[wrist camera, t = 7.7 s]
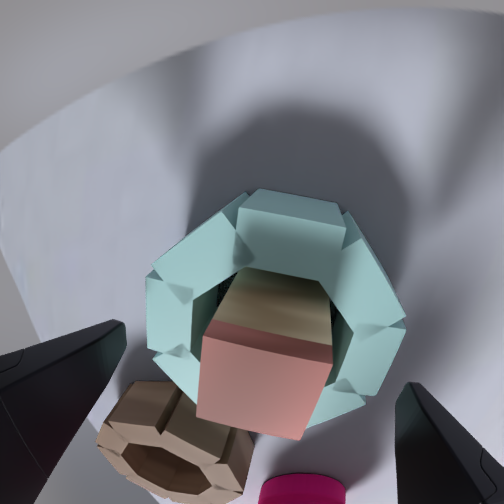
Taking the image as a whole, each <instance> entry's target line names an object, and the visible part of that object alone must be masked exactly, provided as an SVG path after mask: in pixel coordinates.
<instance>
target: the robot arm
mask: <svg viewBox="0 0 504 504" xmlns="http://www.w3.org/2000/svg"><path fill="white" fill-rule="evenodd" d="M126 346H127V339H126V327H125V324H124V323H123V322H121V321H118V320H115V319H112V320H109V321H106V322H103V323H100V324H97V325H94V326H91V327H88V328H85V329H82V330H79V331H76V332H73V333H70V334H67V335H64V336H61V337H58V338H55V339H52V340H49V341H46V342H43V343H40V344H37V345H33V346H30V347H28V348H25V349H21V350H18V351H15V352H11V353H8V354H5V355H1V356H0V504H34V502H35V500H36V499H37V497H38V495H39V493H40V492H41V490H42V488H43V487H44V485H45V483H46V482H47V480H48V479H47V478H49V476H50V475H51V473H52V471H53V469H54V468H55V466H56V465H57V463H58V461H59V460H60V458H61V456H62V455H63V453H64V452H65V450H66V449H67V447H68V445H69V444H70V442H71V441H72V439H73V437H74V436H75V434H76V433H77V431H78V429H79V428H80V426H81V425H82V423H83V421H84V420H85V418H86V417H87V415H88V414H89V412H90V411H91V409H92V408H93V406H94V405H95V403H96V401H97V400H98V398H99V397H100V395H101V394H102V392H103V391H104V389H105V388H106V386H107V384H108V383H109V381H110V379H111V377H112V375H113V373H114V371H115V369H116V367H117V365H118V363H119V361H120V359H121V357H122V355H123V353H124V351H125V349H126ZM395 458H396V473H397V493H398V504H504V467H503V466H502V465H500V464H499V463H498V462H497V461H496V460H495V459H494V458H493V457H492V456H491V455H490V454H489V453H488V452H487V451H486V449H485V448H482V445H481V444H480V443H479V442H478V441H477V440H476V439H475V438H474V437H473V436H472V435H471V434H470V433H469V432H468V431H467V430H466V429H465V428H464V427H463V426H462V425H461V424H460V423H459V422H458V421H457V420H456V419H455V418H454V417H453V416H452V415H451V414H450V413H449V412H448V411H447V410H446V409H445V408H444V407H443V406H442V405H441V404H440V403H439V402H438V401H437V400H436V399H435V398H434V397H433V396H432V395H431V394H430V393H429V392H428V391H427V390H426V389H425V388H424V387H423V386H422V385H421V384H420V383H417V382H408V383H406V385H405V386H404V388H403V390H402V392H401V393H400V395H399V397H398V399H397V401H396V405H395Z"/></svg>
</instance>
